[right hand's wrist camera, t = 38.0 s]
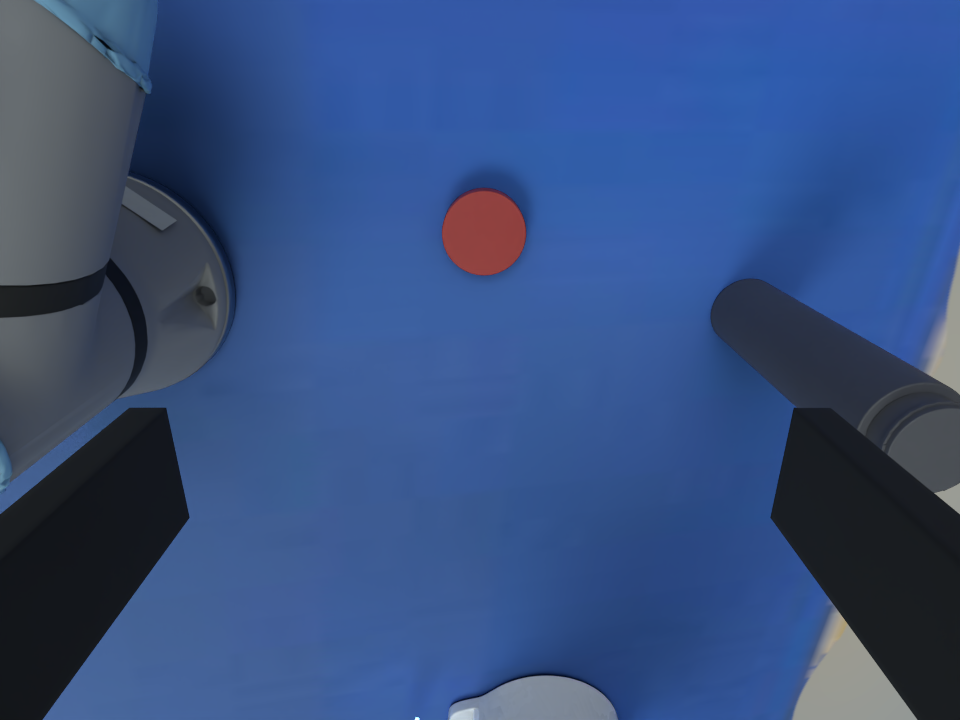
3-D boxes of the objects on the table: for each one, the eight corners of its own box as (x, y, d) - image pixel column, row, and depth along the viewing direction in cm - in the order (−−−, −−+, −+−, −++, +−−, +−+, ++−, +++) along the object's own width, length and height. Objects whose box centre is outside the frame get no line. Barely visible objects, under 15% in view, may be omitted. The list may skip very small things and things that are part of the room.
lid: (430, 248, 42) (428, 253, 40) (464, 173, 40) (463, 175, 38) (502, 281, 42) (503, 288, 41) (538, 209, 41) (540, 213, 39)
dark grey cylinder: (699, 301, 43) (860, 435, 25) (763, 265, 42) (981, 377, 24) (727, 355, 44) (898, 520, 26) (790, 322, 44) (1012, 468, 25)
